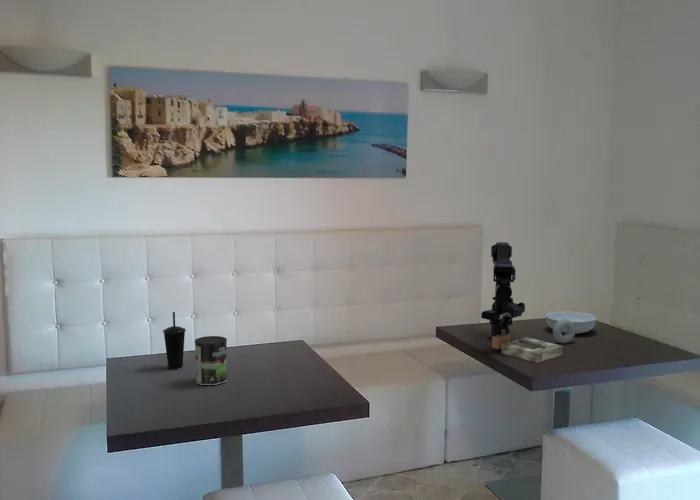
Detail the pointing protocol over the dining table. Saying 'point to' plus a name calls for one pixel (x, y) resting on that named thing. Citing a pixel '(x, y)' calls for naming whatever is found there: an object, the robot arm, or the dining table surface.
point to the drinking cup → (174, 345)
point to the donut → (558, 330)
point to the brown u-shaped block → (500, 340)
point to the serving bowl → (579, 319)
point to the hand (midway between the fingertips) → (501, 334)
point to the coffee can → (211, 360)
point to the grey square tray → (532, 349)
